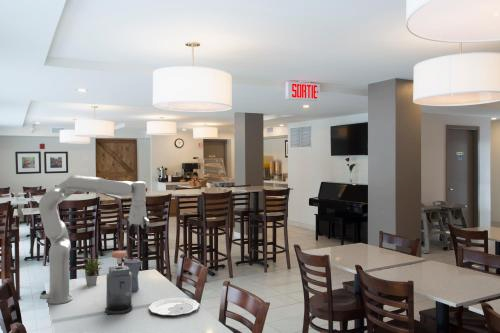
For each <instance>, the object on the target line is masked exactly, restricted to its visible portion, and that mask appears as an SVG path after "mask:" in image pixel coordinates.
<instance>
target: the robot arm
mask: <svg viewBox="0 0 500 333" xmlns="http://www.w3.org/2000/svg"><path fill="white" fill-rule="evenodd" d="M76 192H83V193H84V192H85V193H94V194H100V195H101V194H103V195H104V194H106V195H113V196H129V195H130V194H131V205H130V208H129V216H128V217H127V222H128V226H129V234H136V226H135V225H137V226H138V225H139V226H141V229H140V236H147V228H148V227H149V224H150V220H149V218H148V217H147V216H148V214H147V207H146V198H147V197H146V196H147V195H146V193H147V184H146V182H145V181H129V180H122V181H118V180H112V179H111V180H110V179H106V178H103V177H99V176H89V175H80V174H73V175H70V176H68V177H67V179H65V180H63V181H62V182H60V183H59V184H57V185H56V186H54V187H53V188H50V189H49V190H48V191H46V192H45V193H44V194H43V195H42V196H41V198H40V200H39V203H38V210H39V214H40V219H41V223H42V226H43V229H44V230H43V231H44V234H45V236H46V238H48V239H49V241H50V244H51V246H50V248H49V250H48V260H49V261H48V263H49V291H48V293H45V294H40V295H39V300H46V303H47V304H48V305H49V304H50V305H61V304H65V303H69V302H71V301H72V300H73V295H70V252H71V248H72V247H71V246H72V245H71V240H70V236H69V233H68V230H67V226H66V224H65V222H63V220H61V218H60V212H59V211H58V205H59V204H60V203H62V202H63V201H65V200H66V199H68V198H69V197H70V196H72V195H74V194H75V193H76Z"/></svg>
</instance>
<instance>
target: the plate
mask: <svg viewBox="0 0 500 333" xmlns="http://www.w3.org/2000/svg"><path fill="white" fill-rule="evenodd" d="M182 303H188V304H191V305H192V306H193V309H192V310H191V311H189V312H186V313H181V314H168V313H169V312H170V311H171V310H169V309H170V308H174V305H176V304H182ZM200 305H201V304H200V303H199V302H198V301H197V300H195V299H191V298H188V297H169V298H161V299H159V300H156V301H154V302H151V304H150V305H149V306H148V309H149V311H150V312H151V313H153V314H156V315H160V316H164V317H177V316H176V315H179V316H182V315H183V314H184V315H188V314H191V313H193V312H195V311H197V310H198V309H199V307H200ZM168 310H169V311H168ZM184 315H183V316H184Z"/></svg>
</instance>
